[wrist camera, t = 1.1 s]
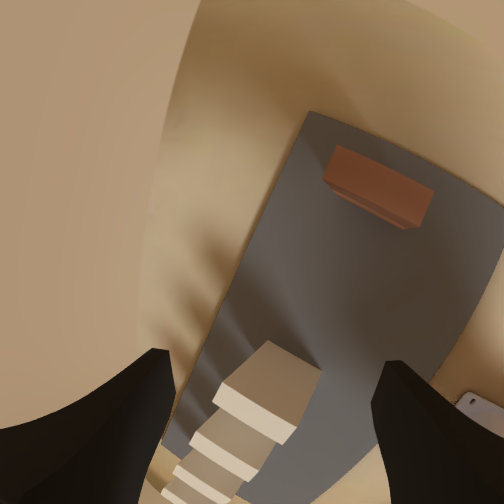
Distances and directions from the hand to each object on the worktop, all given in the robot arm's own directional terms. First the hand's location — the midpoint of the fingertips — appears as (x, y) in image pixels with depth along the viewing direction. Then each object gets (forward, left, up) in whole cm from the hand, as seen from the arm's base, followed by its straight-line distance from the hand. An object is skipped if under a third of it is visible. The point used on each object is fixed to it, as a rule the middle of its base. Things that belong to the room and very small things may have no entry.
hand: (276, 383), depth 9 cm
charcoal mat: (-1, +5, -11) cm, 13 cm away
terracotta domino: (0, -8, -11) cm, 13 cm away
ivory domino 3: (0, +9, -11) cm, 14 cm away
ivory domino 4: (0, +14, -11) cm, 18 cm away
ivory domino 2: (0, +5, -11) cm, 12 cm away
